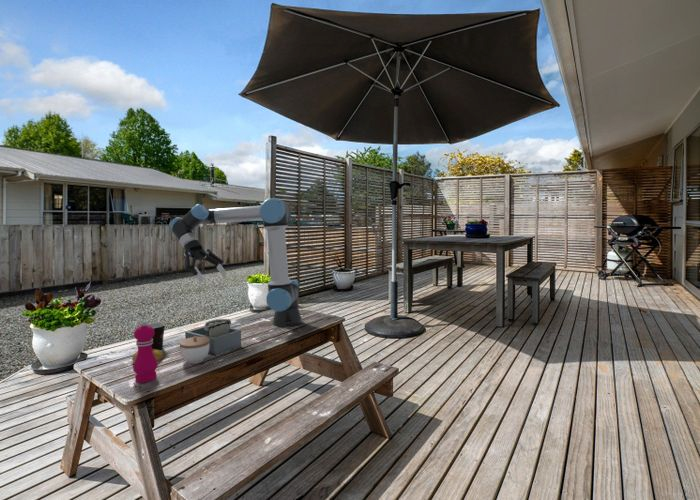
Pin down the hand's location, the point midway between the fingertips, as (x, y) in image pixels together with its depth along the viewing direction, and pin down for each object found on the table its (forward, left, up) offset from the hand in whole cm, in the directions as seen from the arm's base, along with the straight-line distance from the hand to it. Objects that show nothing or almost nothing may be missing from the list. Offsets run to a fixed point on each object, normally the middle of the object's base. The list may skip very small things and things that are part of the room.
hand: (213, 277), depth 169 cm
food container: (+11, +13, -27) cm, 32 cm away
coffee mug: (+24, -7, -28) cm, 37 cm away
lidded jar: (+25, +19, -28) cm, 42 cm away
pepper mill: (+44, +19, -28) cm, 55 cm away
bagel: (+34, +3, -28) cm, 44 cm away
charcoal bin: (+11, +13, -27) cm, 32 cm away
